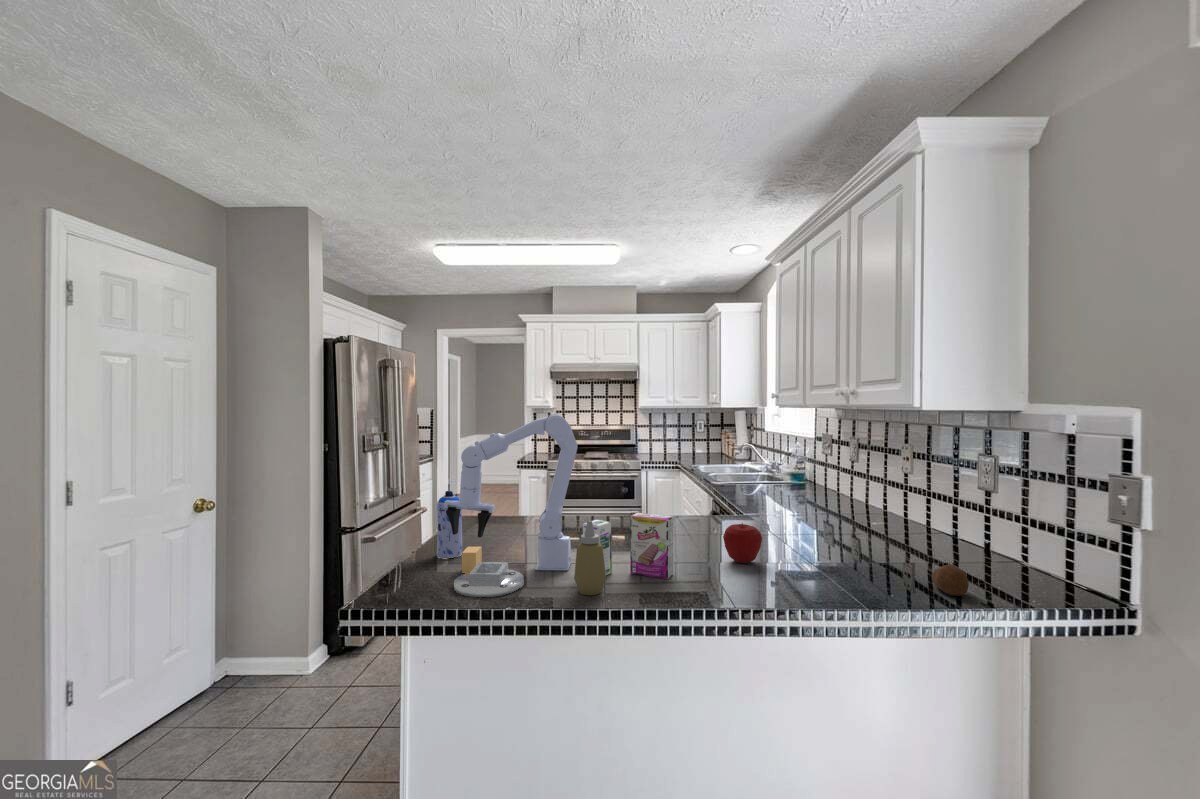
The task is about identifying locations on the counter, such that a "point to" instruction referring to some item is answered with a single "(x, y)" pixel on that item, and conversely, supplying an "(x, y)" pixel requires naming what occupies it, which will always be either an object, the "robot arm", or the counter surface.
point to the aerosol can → (448, 530)
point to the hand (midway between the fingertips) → (467, 535)
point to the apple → (742, 542)
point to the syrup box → (603, 541)
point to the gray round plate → (489, 580)
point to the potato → (951, 580)
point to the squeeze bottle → (590, 563)
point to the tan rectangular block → (471, 558)
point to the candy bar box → (651, 545)
